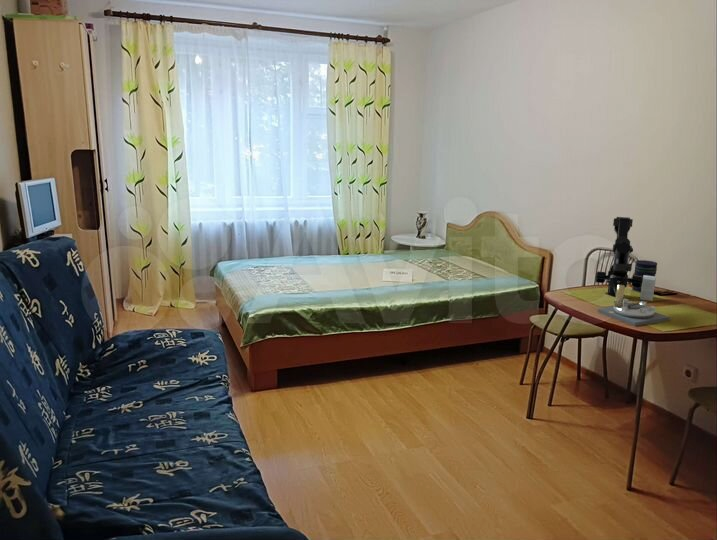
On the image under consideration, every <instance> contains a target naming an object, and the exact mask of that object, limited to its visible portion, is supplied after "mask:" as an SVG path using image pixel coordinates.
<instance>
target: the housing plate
mask: <svg viewBox="0 0 717 540" xmlns="http://www.w3.org/2000/svg"><path fill="white" fill-rule="evenodd" d="M599 312H600V314H601V313H602V314H601V315H604V314H605V315H604V316H606V317H610V318H611V319H615V320H617V321H620V322H622V323H625V324H627V325H631V326H634V327H637V326H643V325H648V324H649V325H650V324H656V323H663V322H667V321H670V319H671V317H670V316H668V315H666V314H662V313H658V312H656V311H654V316H653V317H651V318H632V317H626V316H622V315H619V314H617V313H615V312H614V311H613V306H609V307H608V306H607V307H602V308H601V307H600V308H597V313H599ZM662 321H663V322H662Z"/></svg>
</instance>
